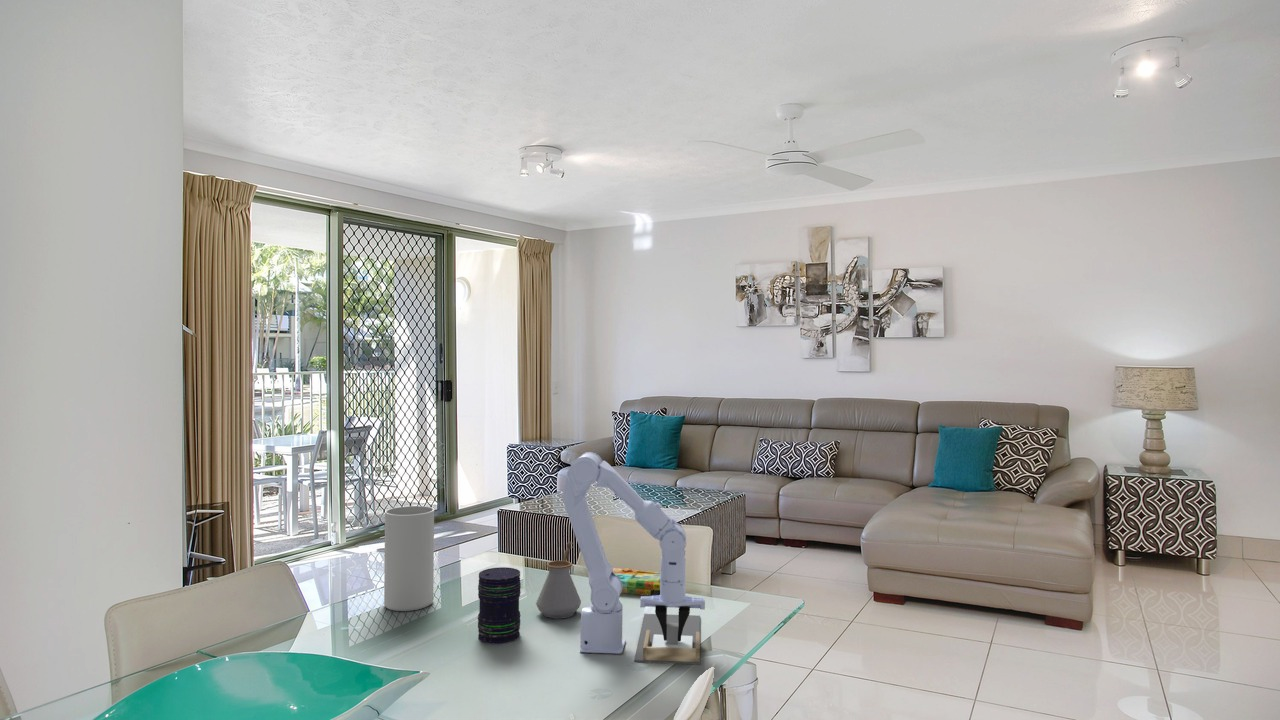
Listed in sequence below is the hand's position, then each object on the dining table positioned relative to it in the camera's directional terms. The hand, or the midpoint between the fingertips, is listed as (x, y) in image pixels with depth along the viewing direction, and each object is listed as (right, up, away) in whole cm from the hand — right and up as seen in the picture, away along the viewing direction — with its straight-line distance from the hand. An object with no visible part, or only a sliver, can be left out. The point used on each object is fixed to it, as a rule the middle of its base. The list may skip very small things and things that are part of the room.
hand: (672, 639), depth 166 cm
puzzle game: (-9, -3, +45) cm, 46 cm away
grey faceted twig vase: (-28, -3, +28) cm, 40 cm away
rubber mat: (0, -2, +7) cm, 8 cm away
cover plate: (0, -2, 0) cm, 2 cm away
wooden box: (0, -2, -1) cm, 3 cm away
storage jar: (-41, -2, +7) cm, 41 cm away
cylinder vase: (-69, -2, +30) cm, 75 cm away
